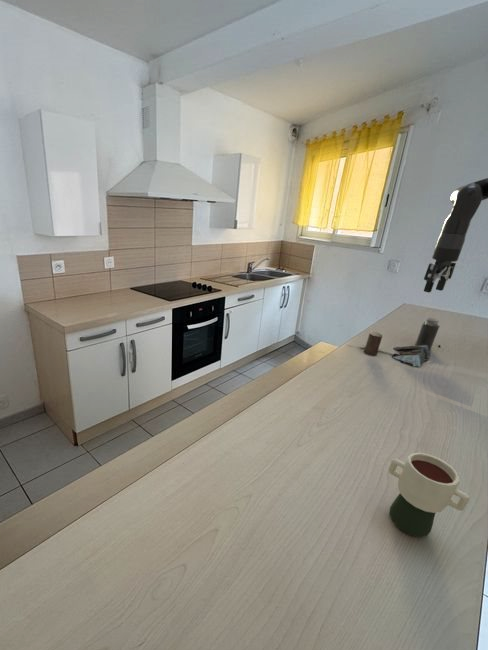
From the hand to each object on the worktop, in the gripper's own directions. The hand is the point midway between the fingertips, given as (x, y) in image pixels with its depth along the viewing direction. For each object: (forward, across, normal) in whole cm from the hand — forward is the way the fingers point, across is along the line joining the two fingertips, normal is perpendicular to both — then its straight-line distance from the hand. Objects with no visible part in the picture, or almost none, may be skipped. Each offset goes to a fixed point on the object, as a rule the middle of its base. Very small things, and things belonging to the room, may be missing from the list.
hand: (433, 291), depth 121 cm
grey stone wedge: (+24, -14, -5) cm, 29 cm away
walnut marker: (+24, -21, +4) cm, 32 cm away
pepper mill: (+24, -1, -4) cm, 24 cm away
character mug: (+24, -82, -44) cm, 96 cm away
